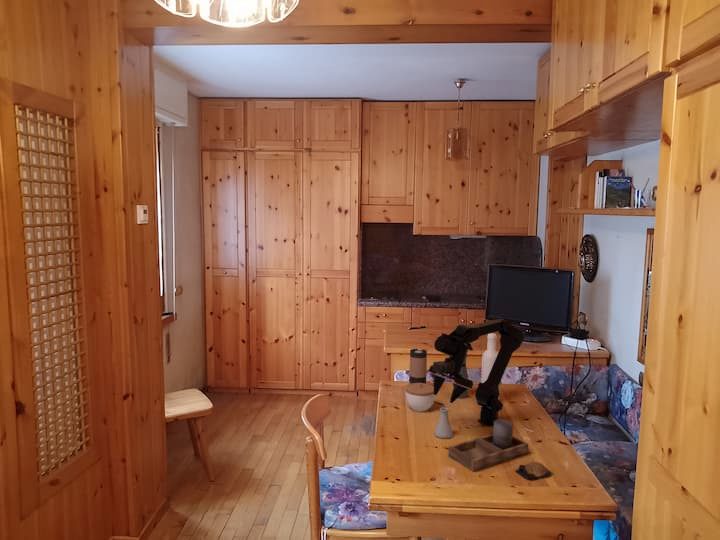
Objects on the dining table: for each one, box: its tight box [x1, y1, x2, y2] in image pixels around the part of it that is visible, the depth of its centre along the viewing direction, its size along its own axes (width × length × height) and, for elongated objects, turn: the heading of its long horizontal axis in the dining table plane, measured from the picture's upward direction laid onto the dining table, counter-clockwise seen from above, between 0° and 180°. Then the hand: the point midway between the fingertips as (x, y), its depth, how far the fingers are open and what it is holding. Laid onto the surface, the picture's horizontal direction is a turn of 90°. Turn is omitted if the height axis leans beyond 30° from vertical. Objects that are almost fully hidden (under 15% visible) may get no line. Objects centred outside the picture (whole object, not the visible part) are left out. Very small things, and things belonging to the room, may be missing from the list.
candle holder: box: [455, 342, 469, 399], centre depth 229 cm, size 6×6×25 cm
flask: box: [433, 407, 454, 439], centre depth 190 cm, size 7×7×10 cm
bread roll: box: [514, 461, 555, 482], centre depth 163 cm, size 11×8×4 cm
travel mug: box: [409, 348, 428, 384], centre depth 232 cm, size 8×8×20 cm
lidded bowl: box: [404, 383, 436, 413], centre depth 215 cm, size 13×13×11 cm
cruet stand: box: [448, 418, 529, 473], centre depth 174 cm, size 25×12×10 cm, turn 121°
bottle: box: [480, 332, 500, 400], centre depth 223 cm, size 8×8×30 cm
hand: (442, 398), depth 188 cm, fingers open, 9 cm apart
